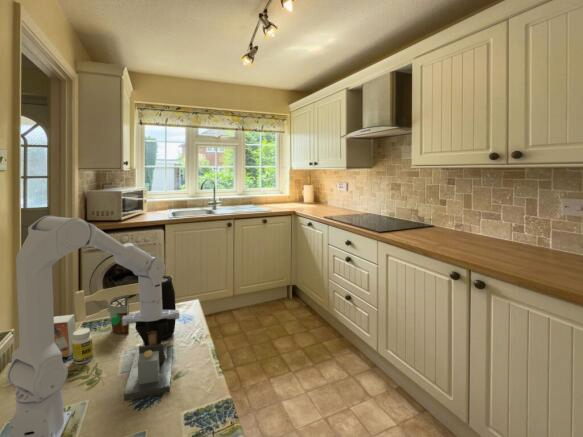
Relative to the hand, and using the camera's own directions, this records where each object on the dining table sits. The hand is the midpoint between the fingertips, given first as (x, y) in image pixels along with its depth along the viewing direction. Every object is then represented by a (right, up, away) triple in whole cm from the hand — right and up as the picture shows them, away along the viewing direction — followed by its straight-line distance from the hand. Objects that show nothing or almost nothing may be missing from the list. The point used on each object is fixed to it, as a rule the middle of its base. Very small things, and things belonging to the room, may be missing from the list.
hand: (153, 345), depth 91 cm
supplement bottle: (-20, -5, 0) cm, 20 cm away
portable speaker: (-3, -3, +14) cm, 15 cm away
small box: (-29, -4, +4) cm, 30 cm away
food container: (-19, -2, +18) cm, 27 cm away
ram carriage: (+1, -3, -2) cm, 4 cm away
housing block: (+3, -4, -10) cm, 11 cm away
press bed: (+2, -5, -5) cm, 7 cm away
